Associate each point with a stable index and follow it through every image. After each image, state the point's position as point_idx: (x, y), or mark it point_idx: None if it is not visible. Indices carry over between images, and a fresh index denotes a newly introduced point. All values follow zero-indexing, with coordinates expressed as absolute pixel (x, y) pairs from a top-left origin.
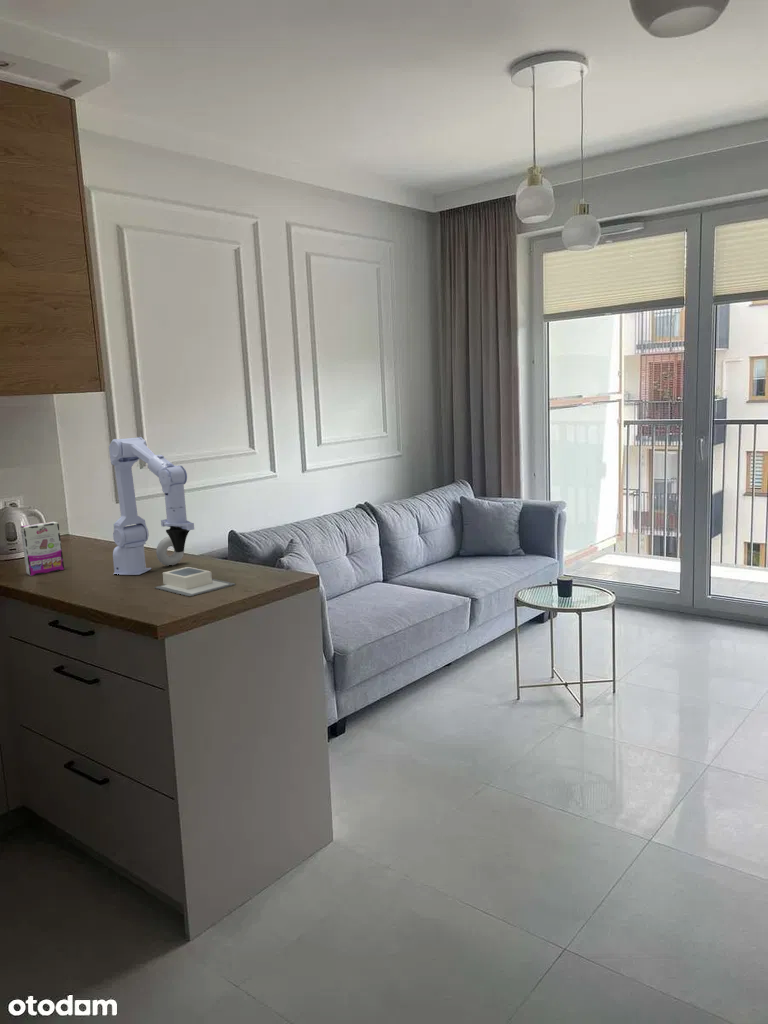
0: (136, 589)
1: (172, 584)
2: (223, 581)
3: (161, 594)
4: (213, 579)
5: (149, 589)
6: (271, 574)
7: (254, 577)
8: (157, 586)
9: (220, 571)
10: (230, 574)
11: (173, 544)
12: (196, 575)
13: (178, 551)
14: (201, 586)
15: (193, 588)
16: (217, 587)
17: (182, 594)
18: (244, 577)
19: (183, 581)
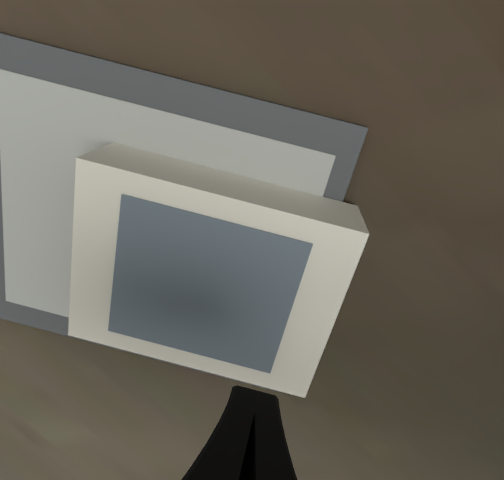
0: (490, 60)
1: (257, 183)
2: None
3: (206, 15)
4: None
5: (388, 94)
6: (16, 468)
7: (36, 424)
8: (359, 148)
9: None
10: (174, 445)
11: (277, 458)
12: (73, 241)
13: (230, 395)
14: None
15: None
16: (2, 235)
17: (53, 47)
18: (74, 418)
19: (116, 157)
